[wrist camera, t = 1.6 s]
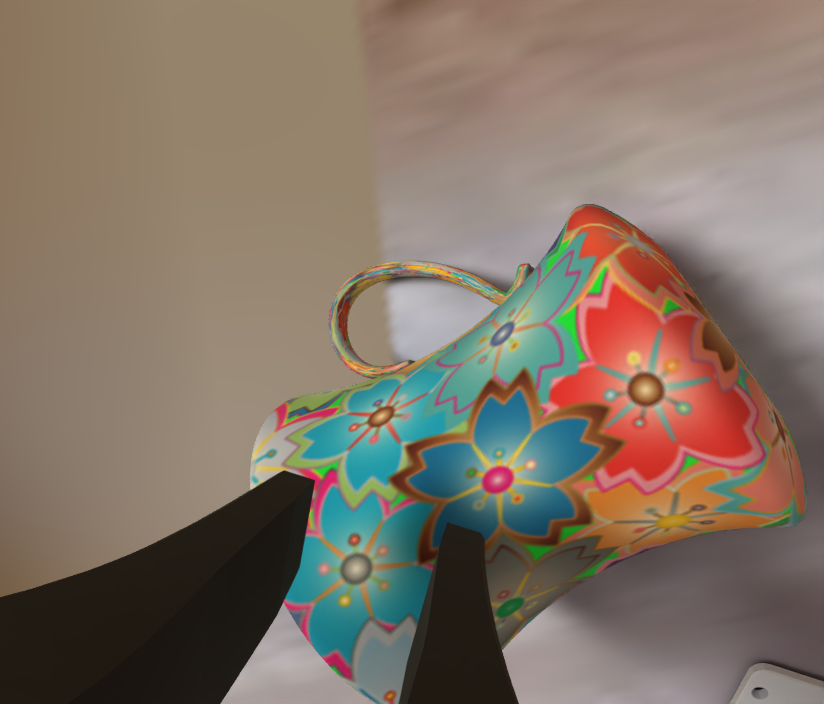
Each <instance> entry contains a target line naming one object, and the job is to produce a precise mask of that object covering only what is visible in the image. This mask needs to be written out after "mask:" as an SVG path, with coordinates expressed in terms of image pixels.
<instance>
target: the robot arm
mask: <svg viewBox="0 0 824 704" xmlns="http://www.w3.org/2000/svg"><path fill="white" fill-rule="evenodd" d="M314 485H315V480H313V479H310V478H307V477H304V476H301V475H298V474H295V473H291V472H288V471H285V470H283V471H282V472H280V473H278V474H276V475H274V476H273V477H271V478H269V479H268V480H266V481H264V482H263V483H261V484H260V485H258V486H256V487H255V488H253V489H251V490H250V491H248V492H247V493H245V494H243V495H242V496H240V497H238V498H237V499H235V500H233V501H232V502H230V503H228V504H227V505H225V506H223V507H221V508H220V509H218V510H216V511H214V512H212V513H211V514H209V515H207V516H206V517H204V518H202V519H200V520H198V521H197V522H195V523H193V524H191V525H189V526H187V527H185V528H183V529H181V530H179V531H177V532H175V533H174V534H171V535H169V536H167V537H165V538H163V539H161V540H159V541H157V542H156V543H154V544H151V545H149V546H147V547H145V548H143V549H141V550H139V551H136V552H134V553H132V554H130V555H127V556H125V557H122V558H119V559H117V560H114V561H112V562H109V563H107V564H104V565H102V566H99V567H97V568H94V569H91V570H89V571H85V572H83V573H80V574H77V575H73V576H70V577H67V578H64V579H61V580H58V581H55V582H51V583H48V584H45V585H42V586H39V587H36V588H33V589H29V590H26V591H22V592H18V593H15V594H11V595H7V596H4V597H0V704H220V703H221V702H222V700H223V699H224V697H225V696H226V694H227V693H228V691H229V689H230V688H231V686H232V685H233V683H234V682H235V680H236V679H237V677H238V676H239V674H240V672H241V671H242V669H243V668H244V666H245V665H246V663H247V662H248V660H249V658H250V657H251V655H252V654H253V652H254V651H255V649H256V648H257V646H258V644H259V643H260V641H261V640H262V638H263V637H264V635H265V633H266V632H267V630H268V629H269V627H270V626H271V624H272V622H273V621H274V619H275V618H276V616H277V614H278V612H279V610H280V608H281V606H282V604H283V602H284V600H285V598H286V596H287V594H288V592H289V589H290V587H291V585H292V583H293V581H294V579H295V577H296V575H297V573H298V570H299V568H300V564H301V558H302V553H303V547H304V541H305V536H306V530H307V524H308V519H309V513H310V507H311V502H312V496H313V490H314ZM757 687H762V688H763V689H761V690H754V688H757ZM399 704H519V703H518V700H517V697H516V694H515V692H514V689H513V686H512V683H511V679H510V676H509V673H508V670H507V667H506V663H505V660H504V656H503V653H502V649H501V646H500V642H499V638H498V634H497V630H496V625H495V620H494V615H493V611H492V606H491V601H490V596H489V590H488V583H487V575H486V566H485V539H484V537H483V536H482V534H481V533H480V532H477V531H474V530H471V529H467V528H464V527H461V526H458V525H455V524H452V523H449V522H447V524H446V527H445V530H444V533H443V536H442V539H441V542H440V545H439V549H438V552H437V556H436V559H435V563H434V567H433V570H432V574H431V578H430V581H429V585H428V588H427V592H426V596H425V599H424V603H423V606H422V610H421V614H420V617H419V621H418V624H417V628H416V632H415V635H414V639H413V642H412V646H411V650H410V653H409V657H408V660H407V665H406V670H405V675H404V680H403V685H402V690H401V695H400V700H399ZM730 704H824V682H823V681H820V680H817V679H814V678H811V677H808V676H805V675H802V674H799V673H796V672H793V671H790V670H787V669H784V668H780V667H777V666H774V665H771V664H767V663H758V664H755V665H753V666H751V667H750V668H749V670H748V671H747V673H746V675H745V677H744V678H743V680H742V682H741V684H740V686H739V687H738V689H737V691H736V693H735V695H734V696H733V698H732V700H731V702H730Z"/></svg>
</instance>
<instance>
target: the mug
mask: <svg viewBox="0 0 824 704" xmlns="http://www.w3.org/2000/svg"><path fill="white" fill-rule="evenodd" d="M407 276H421V277H431V278H437V279H442V280H446V281H450V282H453V283H456V284H459V285H461V286H463V287H465V288H468V289H470V290H472V291H474V292H475V293H477V294H479V295H481V296H483V297H485V298H486V299H488V300H490V301H492V302H494V303H496V304H498V305H500V306H499V307H497V308H496V309H495V310H494V311H493V312H491V313H490V314H489V315H488V316H487V317H486V318H484V319H483V320H482V321H481V322H479V323H478V324H477V325H475V326H474V327H473V328H471V329H470V330H468V331H467V332H466V333H464V334H463V335H461V336H460V337H458V338H457V339H455V340H454V341H452V342H450V343H449V344H447V345H445V346H444V347H442V348H440V349H439V350H437V351H435V352H433V353H431V354H429V355H428V356H426V357H424V358H422V359H420V360H418V361H416V362H415V361H412V360H407V361H404V362H402V363H399V364H396V365H391V366H373V365H370V364H368V363H366V362H364V361H363V360H362V359H361V358H360V357H359V356H358V355H357V354H356V353H355V351H354V350H353V348H352V346H351V344H350V341H349V337H348V331H347V321H348V315H349V311H350V309H351V306H352V304H353V302H354V301H355V299H356V298H357V297H358V295H359V294H360V293H361V292H362V291H364V290H365V289H367V288H368V287H370V286H371V285H374V284H376V283H378V282H381V281H384V280H388V279H392V278H398V277H407ZM329 333H330V338H331V342H332V345H333V348H334V350H335V352H336V354H337V355H338V357H339V358H340V360H341V361H342V362H343V363H344V364H345V365H346V366H347V367H349V368H350V369H351V370H353V371H354V372H356V373H358V374H360V375H362V376H364V377H367V378H371V379H372V380H369V381H366V382H363V383H359V384H356V385H352V386H348V387H344V388H340V389H335V390H331V391H326V392H321V393H314V394H307V395H302V396H298V397H295V398H292V399H290V400H288V401H286V402H284V403H283V404H281V405H280V406H279V407H278V408H276V409H275V410H274V411H273V412H272V413H271V414H270V416H269V417H268V418H267V419H266V421H265V423H264V425H263V426H262V428H261V429H260V432H259V434H258V436H257V439H256V442H255V446H254V449H253V453H252V460H251V469H250V490H251V489H253V488H255V487H256V486H258V485H260V484H261V483H263V482H264V481H266V480H268V479H269V478H271V477H273V476H274V475H276V474H278V473H280V472H282V471H283V470H285V471H288V472H291V473H295V474H298V475H301V476H304V477H307V478H310V479H313V480H315V485H314V490H313V496H312V502H311V507H310V513H309V519H308V524H307V530H306V536H305V541H304V547H303V553H302V558H301V564H300V568H299V570H298V573H297V575H296V577H295V579H294V581H293V583H292V585H291V587H290V589H289V592H288V594H287V596H286V598H285V600H284V603H285V605H286V607H287V609H288V610H289V612H290V614H291V615H292V617H293V619H294V620H295V622H296V624H297V625H298V627H299V628H300V630H301V631H302V632H303V634H304V635H305V637H306V638H307V640H308V641H309V642H310V644H311V645H312V646H313V647H314V649H315V650H316V651H317V652H318V654H319V655H320V656H321V657H322V658H323V659H324V660H325V662H326V663H327V664H328V665H329V666H330V667H331V668H332V669H333V670H334V671H335V672H336V673H337V674H338V675H339V676H340V677H341V678H342V679H343V680H345V681H346V682H347V683H348V684H349V685H350V686H352V687H353V688H354V689H355V690H357V691H358V692H359V693H361V694H362V695H364V696H365V697H367V698H368V699H370V700H372V701H373V702H375V703H377V704H399V700H400V695H401V690H402V685H403V680H404V675H405V670H406V665H407V660H408V657H409V653H410V650H411V646H412V642H413V639H414V635H415V632H416V628H417V624H418V621H419V617H420V614H421V610H422V606H423V603H424V599H425V596H426V592H427V588H428V585H429V581H430V578H431V574H432V570H433V567H434V563H435V559H436V556H437V552H438V549H439V545H440V542H441V539H442V536H443V533H444V530H445V527H446V524H447V522H449V523H452V524H455V525H458V526H461V527H464V528H467V529H471V530H474V531H477V532H480V533H481V534H482V536H483V537H484V539H485V566H486V575H487V583H488V590H489V596H490V601H491V606H492V611H493V615H494V620H495V625H496V630H497V634H498V638H499V642H500V646H501V649H502V650H503V649H504V648H505V646H506V645H507V644H508V643H509V642H510V641H511V640H512V639H513V638H514V637H515V636H516V635H517V634H518V633H519V632H520V631H521V630H522V629H523V628H524V627H525V626H526V625H527V624H528V623H529V622H530V621H532V620H533V619H534V618H535V617H536V616H537V615H539V614H540V613H541V612H542V611H543V610H544V609H546V608H547V607H548V606H550V605H551V604H552V603H554V602H555V601H556V600H557V599H559V598H560V597H561V596H563V595H564V594H566V593H567V592H569V591H570V590H572V589H573V588H575V587H576V586H578V585H579V584H581V583H582V582H584V581H586V580H587V579H589V578H590V577H592V576H594V575H596V574H597V573H599V572H601V571H603V570H605V569H606V568H608V567H610V566H612V565H614V564H616V563H618V562H620V561H623V560H625V559H627V558H629V557H632V556H634V555H637V554H639V553H642V552H644V551H647V550H649V549H652V548H655V547H658V546H661V545H664V544H667V543H670V542H674V541H677V540H681V539H685V538H689V537H693V536H697V535H702V534H707V533H712V532H718V531H725V530H732V529H743V528H761V527H778V528H787V527H792V526H795V525H797V524H798V523H799V522H800V521H802V519H803V517H804V515H805V513H806V509H807V496H806V489H805V482H804V477H803V473H802V469H801V464H800V460H799V457H798V454H797V451H796V448H795V445H794V442H793V440H792V437H791V435H790V433H789V431H788V429H787V426H786V424H785V422H784V420H783V418H782V417H781V415H780V414H779V412H778V411H777V409H776V408H775V406H774V405H773V403H772V402H771V400H770V399H769V398H768V396H767V395H766V393H765V392H764V390H763V389H762V387H761V386H760V385H759V383H758V382H757V380H756V379H755V377H754V376H753V375H752V373H751V372H750V370H749V369H748V367H747V366H746V365H745V363H744V362H743V360H742V359H741V358H740V356H739V355H738V353H737V352H736V350H735V349H734V348H733V346H732V345H731V343H730V342H729V341H728V339H727V338H726V336H725V335H724V333H723V332H722V331H721V329H720V328H719V326H718V325H717V324H716V322H715V321H714V319H713V318H712V317H711V315H710V314H709V312H708V311H707V310H706V308H705V307H704V305H703V304H702V303H701V301H700V300H699V298H698V297H697V296H696V294H695V293H694V291H693V290H692V289H691V287H690V286H689V285H688V283H687V282H686V280H685V279H684V278H683V276H682V275H681V273H680V272H679V271H678V269H677V268H676V267H675V265H674V264H673V263H672V261H671V260H670V258H669V257H668V256H667V254H666V253H665V252H664V251H663V250H662V249H661V248H660V247H659V246H658V245H657V244H656V243H655V242H654V241H653V240H652V239H651V238H650V237H648V236H647V235H646V234H645V233H643V232H642V231H641V230H640V229H638V228H637V227H636V226H634V225H633V224H631V223H629V222H628V221H626V220H625V219H623V218H622V217H620V216H619V215H617V214H615V213H613V212H611V211H609V210H607V209H605V208H603V207H601V206H597V205H594V204H585V205H581V206H579V207H576V208H575V209H574V210H573V212H572V213H571V214H570V216H569V218H568V220H567V222H566V224H565V226H564V228H563V229H562V231H561V233H560V234H559V236H558V238H557V239H556V241H555V242H554V244H553V245H552V247H551V248H550V250H549V251H548V253H547V254H546V255H545V257H544V258H543V259H542V260H541V262H540V263H539V264H538V266H537V267H536V268H535V269H534V268H533V267H531V266H530V264H521V265H520V266H519V267H518V270H517V274H516V278H515V281H514V283H513V285H512V287H511V288H510V290H509V291H508V292H507V293H506V292H504V291H502V290H500V289H499V288H497V287H495V286H494V285H492V284H490V283H489V282H487V281H485V280H483V279H481V278H479V277H477V276H475V275H473V274H471V273H469V272H466V271H463V270H461V269H458V268H455V267H451V266H448V265H443V264H439V263H433V262H426V261H396V262H389V263H383V264H379V265H375V266H372V267H370V268H367V269H365V270H363V271H361V272H359V273H357V274H355V275H354V276H353V277H351V278H350V279H349V280H348V281H346V282H345V283H344V284H343V285H342V287H341V288H340V289H339V291H338V292H337V294H336V295H335V298H334V300H333V302H332V305H331V309H330V314H329Z"/></svg>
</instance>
